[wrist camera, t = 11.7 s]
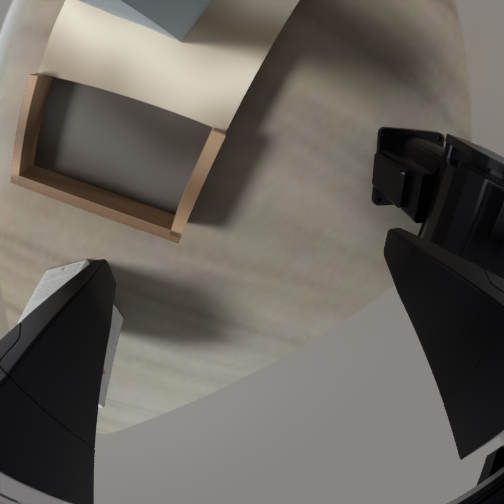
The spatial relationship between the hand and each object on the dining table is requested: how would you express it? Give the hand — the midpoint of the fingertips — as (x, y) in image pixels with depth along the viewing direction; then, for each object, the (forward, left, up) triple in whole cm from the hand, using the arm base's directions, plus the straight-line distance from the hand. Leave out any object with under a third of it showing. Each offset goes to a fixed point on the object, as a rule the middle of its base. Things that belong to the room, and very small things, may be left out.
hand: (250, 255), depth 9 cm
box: (+3, -11, -13) cm, 17 cm away
